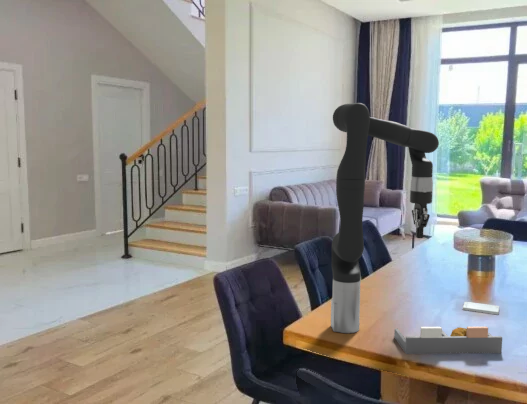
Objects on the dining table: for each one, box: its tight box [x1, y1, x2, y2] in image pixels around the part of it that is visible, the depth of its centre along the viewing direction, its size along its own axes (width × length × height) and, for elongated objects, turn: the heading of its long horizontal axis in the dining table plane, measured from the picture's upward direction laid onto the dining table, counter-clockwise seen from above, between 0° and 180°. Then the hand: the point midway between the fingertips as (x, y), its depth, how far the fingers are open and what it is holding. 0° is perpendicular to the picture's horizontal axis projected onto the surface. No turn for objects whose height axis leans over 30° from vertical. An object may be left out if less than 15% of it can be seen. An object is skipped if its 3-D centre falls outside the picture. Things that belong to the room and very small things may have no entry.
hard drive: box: [462, 301, 500, 316], centre depth 198 cm, size 2×8×12 cm
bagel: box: [449, 326, 467, 336], centre depth 163 cm, size 10×11×5 cm
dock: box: [393, 326, 503, 355], centre depth 163 cm, size 29×13×8 cm, turn 91°
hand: (419, 237), depth 186 cm, fingers closed
